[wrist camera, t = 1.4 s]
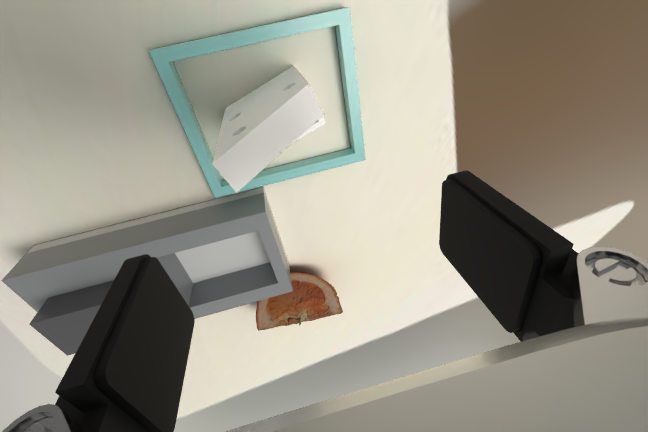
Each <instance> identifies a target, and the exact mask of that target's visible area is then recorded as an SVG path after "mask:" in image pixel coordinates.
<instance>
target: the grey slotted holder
mask: <svg viewBox="0 0 648 432" xmlns="http://www.w3.org/2000/svg"><path fill="white" fill-rule="evenodd" d="M144 254H148V255H149V256H151V257H156V258H157V259H158V260H159V262H160V263H161V265H162V266H163V268H164V269H165V271H166V272H167V274H168V275H169V277H170V278H171V280H172V281H173V283H174V284H175V286H176V288H177V289H178V291H179V292H180V294H181V295H182V297H183V298H184V300H185V301H186V303H187V304H188V306H189V307H190V309H191V310H192V312H193V315H194V319H196V318H200V317H203V316H207V315H210V314H214V313H217V312H221V311H224V310H228V309H232V308H235V307H239V306H242V305H246V304H249V303H253V302H256V301H260V300H264V299H267V298H271V297H274V296H278V295H281V294H285V293H288V292H292V291H293V287H292V281H291V275H290V269H289V263H288V259H287V256H286V253H285V250H284V247H283V244H282V241H281V238H280V235H279V232H278V229H277V226H276V223H275V220H274V217H273V214H272V211H271V208H270V205H269V202H268V199H267V196H266V193H265V190H264V187H261V188H257V189H253V190H249V191H245V192H241V193H237V194H233V195H230V196H226V197H222V198H218V199H214V200H210V201H206V202H202V203H198V204H194V205H190V206H186V207H182V208H179V209H175V210H171V211H167V212H163V213H159V214H155V215H151V216H147V217H143V218H139V219H135V220H131V221H128V222H124V223H120V224H116V225H112V226H108V227H104V228H100V229H96V230H92V231H88V232H84V233H80V234H77V235H73V236H69V237H65V238H61V239H57V240H53V241H49V242H45V243H41V244H37V245H34V246H33V247H32V248H31V249H30V250H29V251H28V252H27V253H26V255H25V256H24V257H23V258H22V259H21V260H20V261H19V262H18V263H17V264H16V265H15V267H14V268H13V269H12V270H11V271H10V272H9V273H8V274H7V275H6V276H5V277H4V279H3V280H2V281H3V282H4V283H5V284H6V285H7V286H8V287H9V288H11V289H12V290H13V291H14V292H15V293H16V294H17V295H19V296H20V297H21V298H22V299H23V300H24V301H25V302H27V303H28V304H29V305H30V306H31V307H32V308H33V309H35V310H36V311H37V312H38V313H37V314H36V316H35V317H34V318H33V320H32V321H31V323H30V325H31V326H32V327H33V328H35V329H36V330H37V331H38V332H39V333H41V334H42V335H43V336H44V337H46V338H47V339H48V340H49V341H50V342H52V343H53V344H54V345H55V346H56V347H58V348H59V349H60V350H61V351H63V352H64V353H65V354H66V355H71V354H74V353H76V352H77V350H78V348H79V346H80V344H81V342H82V340H83V339H84V337H85V335H86V333H87V331H88V329H89V327H90V325H91V323H92V321H93V320H94V318H95V316H96V314H97V312H98V310H99V308H100V306H101V304H102V302H103V301H104V299H105V297H106V295H107V293H108V291H109V289H110V287H111V285H112V283H113V282H114V280H115V278H116V276H117V274H118V272H119V270H120V268H121V266H122V264H123V263H124V261H125V260H126V259H129V258H133V257H137V256H141V255H144Z"/></svg>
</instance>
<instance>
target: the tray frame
mask: <svg viewBox="0 0 648 432" xmlns="http://www.w3.org/2000/svg"><path fill="white" fill-rule="evenodd" d="M331 26H335V27H336V35H337V43H338V51H339V58H340V66H341V74H342V82H343V89H344V97H345V105H346V113H347V120H348V128H349V136H350V144H351V148H349V149H345V150H341V151H337V152H333V153H329V154H325V155H321V156H317V157H313V158H309V159H305V160H301V161H297V162H293V163H289V164H285V165H281V166H277V167H273V168H269V169H265V170H262V171H261V172H259V173H258V174H257V175H256V176H255V177H254V178H253V179H252V180H251V181H249V182H248V183H247V184H246V185H245V186H244V187H243V188H242V189H241V190H239V191H238V192H241V191H245V190H249V189H253V188H257V187H261V186H265V185H269V184H273V183H277V182H281V181H285V180H288V179H292V178H296V177H300V176H304V175H308V174H312V173H316V172H320V171H324V170H328V169H332V168H336V167H340V166H343V165H347V164H351V163H355V162H359V161H363V160H365V150H364V141H363V131H362V121H361V111H360V102H359V92H358V82H357V72H356V63H355V53H354V43H353V33H352V24H351V14H350V7H346V8H340V9H336V10H331V11H327V12H322V13H317V14H313V15H308V16H304V17H299V18H294V19H290V20H285V21H281V22H276V23H271V24H267V25H262V26H258V27H253V28H248V29H244V30H239V31H235V32H230V33H225V34H221V35H216V36H212V37H207V38H202V39H198V40H193V41H189V42H184V43H179V44H175V45H170V46H165V47H161V48H156V49H153V50H150V51H149V53H150V55H151V57H152V59H153V62H154V64H155V66H156V68H157V71H158V73H159V75H160V77H161V79H162V82H163V84H164V86H165V88H166V91H167V93H168V95H169V97H170V99H171V102H172V104H173V106H174V108H175V111H176V113H177V115H178V117H179V119H180V122H181V124H182V126H183V128H184V131H185V133H186V135H187V137H188V139H189V142H190V144H191V146H192V148H193V150H194V153H195V155H196V157H197V159H198V162H199V164H200V166H201V168H202V170H203V173H204V175H205V177H206V179H207V182H208V184H209V186H210V188H211V190H212V193H213V195H214V197H215V198H218V197H222V196H226V195H230V194H234V193H236V192H235V191H234V189H233V188H232V187H231V186H230V185H229V183H228V182H227V181H226V180H222V178H221V176H220V174H219V171H218V170H217V169H216V168H215V167H214V166H213V164H212V162H213V157H212V154H211V152H210V150H209V147H208V145H207V143H206V140H205V138H204V135H203V133H202V131H201V128H200V126H199V123H198V121H197V119H196V116H195V114H194V111H193V109H192V107H191V104H190V102H189V99H188V97H187V95H186V92H185V90H184V87H183V85H182V83H181V80H180V78H179V75H178V73H177V71H176V68H175V66H174V63H173V61H178V60H182V59H187V58H191V57H196V56H200V55H205V54H209V53H214V52H218V51H223V50H227V49H232V48H236V47H241V46H245V45H250V44H254V43H259V42H264V41H268V40H273V39H277V38H282V37H286V36H291V35H295V34H300V33H304V32H309V31H313V30H318V29H322V28H327V27H331Z"/></svg>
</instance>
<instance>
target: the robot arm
mask: <svg viewBox="0 0 648 432" xmlns="http://www.w3.org/2000/svg"><path fill="white" fill-rule="evenodd" d="M439 245H440V249H441V251H442V253H443V254H444V256H445V257H446V258H447V259H448V260H449V262H450V263H451V264H452V265H453V266H454V268H455V269H456V270H457V271H458V273H459V274H460V275H461V276H462V277H463V279H464V280H465V281H466V282H467V283H468V285H469V286H470V287H471V288H472V290H473V291H474V292H475V293H476V294H477V296H478V297H479V298H480V299H481V300H482V302H483V303H484V304H485V305H486V307H487V308H488V309H489V310H490V311H491V313H492V314H493V315H494V316H495V318H496V319H497V320H498V321H499V322H500V324H501V325H502V326H503V327H504V328H505V329H506V330H507V331H508V332H510V333H512V332H513V333H514V334H515V335H516V336H517V337H518V339H519V340H520V341H521V342H519V343H515V344H512V345H508V346H504V347H501V348H498V349H495V350H491V351H488V352H484V353H481V354H478V355H474V356H471V357H468V358H464V359H461V360H458V361H454V362H451V363H448V364H444V365H441V366H438V367H434V368H431V369H428V370H424V371H421V372H418V373H414V374H411V375H408V376H404V377H401V378H398V379H395V380H391V381H388V382H385V383H382V384H378V385H375V386H372V387H369V388H365V389H362V390H359V391H355V392H352V393H349V394H345V395H342V396H339V397H336V398H332V399H329V400H326V401H323V402H319V403H316V404H313V405H309V406H306V407H303V408H300V409H296V410H293V411H290V412H287V413H284V414H280V415H277V416H274V417H271V418H267V419H264V420H261V421H258V422H255V423H251V424H248V425H245V426H242V427H238V428H235V429H232V430H229V431H226V432H648V262H647V261H646V260H644V259H642V258H640V257H639V256H637V255H635V254H632V253H629V252H626V251H624V250H620V249H615V248H610V247H592V248H588V249H585V250H582V251H581V252H580V253H579V254H578V253H577V252H576V251H574V250H573V249H572V247H573V243H571V242H570V241H568V240H567V239H565V238H564V237H563V236H561V235H560V234H558V233H557V232H555V231H554V230H553V229H551V228H550V227H548V226H547V225H545V224H544V223H542V222H541V221H539V220H538V219H536V218H535V217H534V216H532V215H531V214H529V213H528V212H527V211H525V210H524V209H522V208H521V207H519V206H518V205H516V204H515V203H514V202H512V201H511V200H509V199H508V198H506V197H505V196H503V195H502V194H501V193H499V192H498V191H496V190H495V189H493V188H492V187H490V186H489V185H488V184H486V183H485V182H483V181H482V180H481V179H479V178H478V177H476V176H475V175H473V174H472V173H470V172H469V171H462V172H458V173H454V174H450V175H448V176H447V179H446V180H445V181H443V183H442V198H441V219H440V240H439ZM193 327H194V315H193V312H192V310H191V309H190V307H189V306H188V304H187V303H186V301H185V300H184V298H183V297H182V295H181V294H180V292H179V291H178V289H177V288H176V286H175V284H174V283H173V281H172V280H171V278H170V277H169V275H168V274H167V272H166V271H165V269H164V268H163V266H162V265H161V263H160V262H159V260H158V259H157V258H156V257H151V256H149V255H148V254H144V255H141V256H137V257H133V258H129V259H126V260H125V261H124V263H123V264H122V266H121V268H120V270H119V272H118V274H117V276H116V278H115V280H114V282H113V283H112V285H111V287H110V289H109V291H108V293H107V295H106V297H105V299H104V301H103V302H102V304H101V306H100V308H99V310H98V312H97V314H96V316H95V318H94V320H93V321H92V323H91V325H90V327H89V329H88V331H87V333H86V335H85V337H84V339H83V340H82V342H81V344H80V346H79V348H78V350H77V352H76V354H75V356H74V358H73V359H72V361H71V363H70V365H69V367H68V369H67V371H66V373H65V375H64V377H63V378H62V380H61V382H60V384H59V386H58V388H57V390H56V393H57V394H58V395H59V398H58V400H57V402H56V404H55V405H52V404H47V405H43V406H39V407H37V408H34V409H32V410H30V411H28V412H27V413H25V414H24V415H22V416H21V417H19V418H18V419H16V420H15V421H14V422H12V423H11V424H10V425H9V426H8V427H7V428H6V429H4V430H3V432H173V431H174V428H175V423H176V418H177V413H178V407H179V402H180V397H181V391H182V386H183V381H184V375H185V370H186V365H187V359H188V354H189V349H190V343H191V338H192V333H193Z"/></svg>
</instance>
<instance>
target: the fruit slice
mask: <svg viewBox="0 0 648 432" xmlns="http://www.w3.org/2000/svg"><path fill="white" fill-rule="evenodd" d="M290 275H291V281H292V287H293V291H292V292H288V293H285V294H281V295H278V296H274V297H271V298H267V299H264V300H260V301H258V303H257V310H256V322H257V328H258V330H265V329H269V328H274V327H278V326H284V325H285V326H287V325H291V324H297V323H300V324H301V322H303V321H312V320H315V319H319V318H323V317H327V316H331V315H335V314H341V313H342V312H343V310H342V308H341V305H340V302H339V297H338V296H336V295H337V293H336V291H335V289H334V287H333V286H332V285H331V284H329V283H328V282H326V281H324V280H323V279H321V278H319V277H317V276H314V275H311V274H307V273H300V272H294V273H290ZM300 324H299V325H300Z"/></svg>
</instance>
